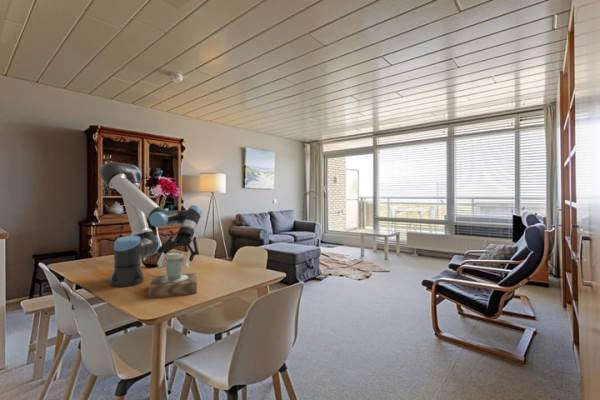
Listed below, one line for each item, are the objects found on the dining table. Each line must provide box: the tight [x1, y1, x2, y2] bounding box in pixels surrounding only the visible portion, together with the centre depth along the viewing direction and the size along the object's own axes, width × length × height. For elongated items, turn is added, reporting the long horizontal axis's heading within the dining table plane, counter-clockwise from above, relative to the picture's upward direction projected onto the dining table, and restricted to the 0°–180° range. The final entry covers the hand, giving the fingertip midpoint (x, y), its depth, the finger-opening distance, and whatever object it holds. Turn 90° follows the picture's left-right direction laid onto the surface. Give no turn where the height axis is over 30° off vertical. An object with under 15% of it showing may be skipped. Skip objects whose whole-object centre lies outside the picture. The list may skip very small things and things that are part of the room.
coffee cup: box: [164, 251, 185, 280], centre depth 143 cm, size 8×8×12 cm
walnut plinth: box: [148, 272, 198, 299], centre depth 143 cm, size 20×18×5 cm
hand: (172, 266), depth 140 cm, fingers open, 13 cm apart
